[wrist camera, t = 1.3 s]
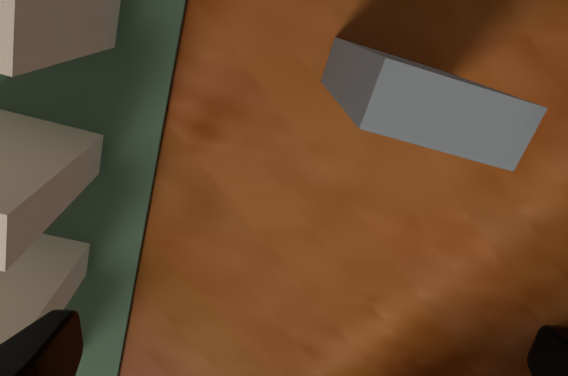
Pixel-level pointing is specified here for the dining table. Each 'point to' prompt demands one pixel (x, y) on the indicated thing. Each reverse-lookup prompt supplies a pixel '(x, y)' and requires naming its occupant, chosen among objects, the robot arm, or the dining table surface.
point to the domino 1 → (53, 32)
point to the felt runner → (109, 160)
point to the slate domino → (429, 106)
